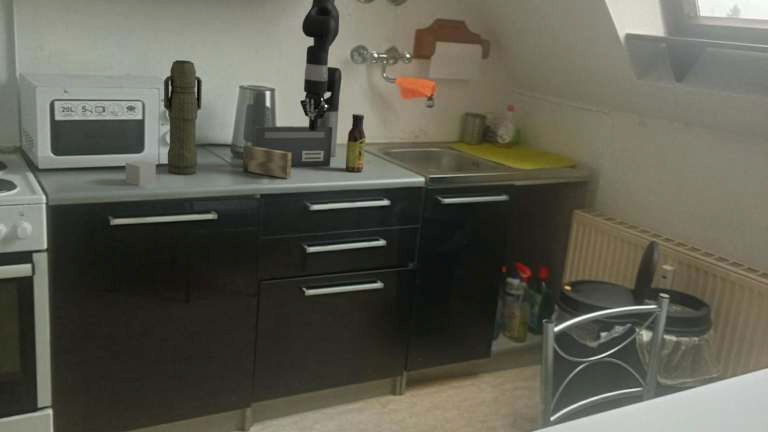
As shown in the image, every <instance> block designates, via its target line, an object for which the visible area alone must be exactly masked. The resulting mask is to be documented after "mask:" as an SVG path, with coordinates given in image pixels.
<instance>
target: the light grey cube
mask: <svg viewBox="0 0 768 432" xmlns="http://www.w3.org/2000/svg"><path fill="white" fill-rule="evenodd" d="M156 166H157V164H156V163H154V162H150V161H147V160H141V159H139V160H135V161H128V162H125V183H127V184H131V185H134V186H138V187H142V186H147V185H152V184H156V179H157V178H156V169H157V168H156Z"/></svg>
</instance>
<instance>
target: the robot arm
mask: <svg viewBox="0 0 768 432" xmlns="http://www.w3.org/2000/svg"><path fill="white" fill-rule="evenodd" d="M335 1H336V0H312V4H311V7H310V9H309V11H308V12H307V13H306V15H305V17H304V19H303V21H302V25H301V29H302V32H303V34H304V35H305V36H306V37H308V38H313V45H309V46H308V47H307V48H306V56H305V57H306V61H305V62H306V63H305V69H304V81H303V83H304V84H303V85H304V86H303V92H304V93H305V96H304V98H303V100H302V99H301V100H300V105H301V108H302V111H303V113H304V116H305V117H307V118H308V120H309V121H308V127H309V130H311V131H316V130H317V127H332V142H331V157H330V158H333V157H336V156H337V154H336V153H337V152H336V150H337V138H338V123H339V108H340V107H339V105H340V93H341V86H342V85H341V84H342V75H343V74H342V70H341V69H340V68H339V67H333V66H328V63H329V62H328V60H329V53H330V52H329V50H330V47H331V46H332V44H333V43H334V42H335V40H336V38H337V37H338V35H339V32H340V14H339V10H338V8H337V6H336V4H335ZM327 93H330V95H329V96H328V97H326V98H325V94H327Z"/></svg>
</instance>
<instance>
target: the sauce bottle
mask: <svg viewBox="0 0 768 432" xmlns="http://www.w3.org/2000/svg"><path fill="white" fill-rule="evenodd" d="M351 117H352V124H351V126H352V127H351V129H349V130H348V134H347V140H346V141H347V142H346V143H347V144H346V153H345V154H346V156H345V170H346V171H347V172H352V173H359V172H362V171H363V168H364V161H365V149H366V134H365V131H364V119H365V115H364V114H361V113H353V114H352V116H351Z"/></svg>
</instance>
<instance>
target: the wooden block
mask: <svg viewBox="0 0 768 432" xmlns="http://www.w3.org/2000/svg"><path fill="white" fill-rule="evenodd" d="M242 150H243V155H242V171H244V172H250V173H256V174H261V175H268V176H273V177H277V178H278V177H279V178H285V179H288V178H291V174H292V173H291V170H292V167H291V154H292V153H290V152H284V151H278V150H272V149H266V148H260V147H254V146H253V145H243V149H242Z"/></svg>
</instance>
